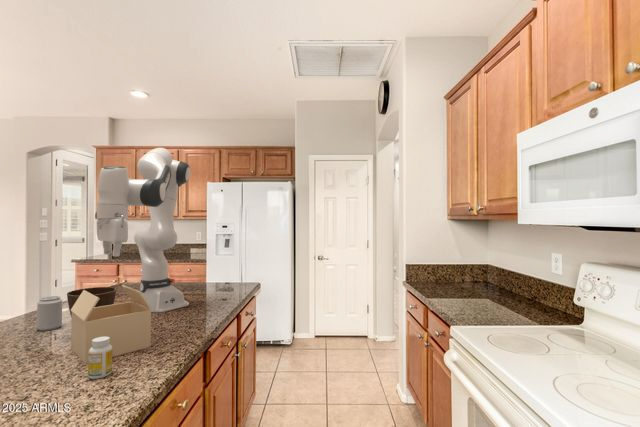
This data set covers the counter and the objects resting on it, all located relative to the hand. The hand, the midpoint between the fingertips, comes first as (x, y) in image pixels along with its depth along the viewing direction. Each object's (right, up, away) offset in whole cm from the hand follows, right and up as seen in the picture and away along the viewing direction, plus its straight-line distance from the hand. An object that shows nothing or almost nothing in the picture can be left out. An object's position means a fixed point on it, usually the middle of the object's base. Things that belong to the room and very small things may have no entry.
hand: (111, 255), depth 110 cm
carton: (+1, -30, -1) cm, 30 cm away
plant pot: (-14, -31, +11) cm, 35 cm away
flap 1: (-4, -15, -6) cm, 17 cm away
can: (-36, -31, +18) cm, 51 cm away
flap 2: (+6, -15, +5) cm, 17 cm away
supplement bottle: (+10, -30, -21) cm, 38 cm away
